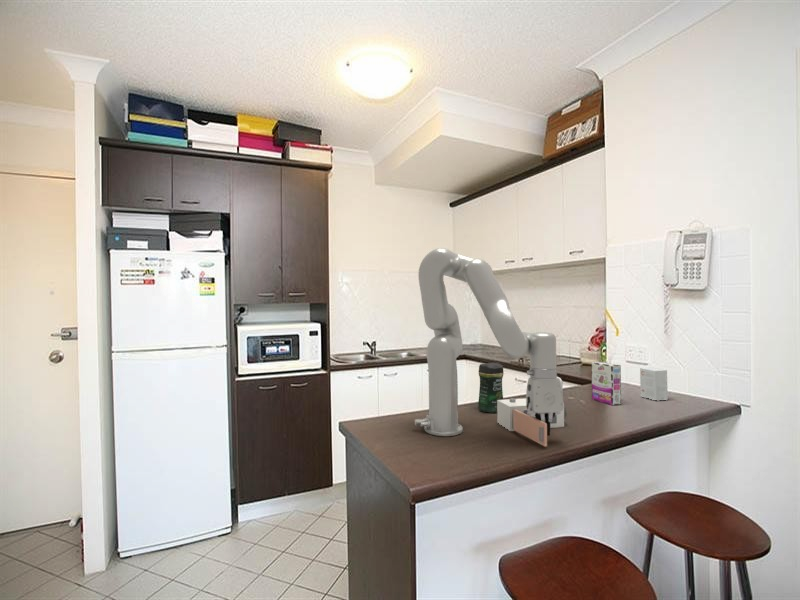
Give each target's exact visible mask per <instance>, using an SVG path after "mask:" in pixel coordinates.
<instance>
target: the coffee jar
mask: <svg viewBox="0 0 800 600" xmlns="http://www.w3.org/2000/svg"><path fill="white" fill-rule="evenodd" d="M504 374H505V373H504V366H503V364H502V363H498V362H488V363H481V364H479V365H478V376H479V393H478V404H477V405H478V410H479V411H480V412H484V413H497V400H504V393H503V392H504V391H503V377H504Z"/></svg>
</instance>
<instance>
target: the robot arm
mask: <svg viewBox="0 0 800 600" xmlns="http://www.w3.org/2000/svg"><path fill="white" fill-rule="evenodd" d="M417 275H418V284H419V291H420V296H421V304H422V312H423V317H424V322H425V325H426V326H427V328H428V329H430V330H432V331H433V333H434V336H433V337H432V338H431V339H430V340H429V342H428V344H427V347H426V361H427V366H428V367H427V369H428V414H426V417H424V418H417V419H416V418H415V419H414V425H415V426H420V427H424V428H423V429H424V431H425V432H426V433H427V434H429V435H432V436H436V437H437V436H439V437H452V436H458V435H460V434H462V432H463V431H464V429H463V426H462V425H461V424H459V417H458V416H459V405H458V404H459V401H458V398H459V396H458V395H459V394H458V393H459V392H458V389H459V388H458V366H457V358H458V357H459V356H460V355H461V353H462V351H463V347H464V345H463V339H462V332H461V327H460V326H461V325H460V321H459V316H458V313H457V310H456V308H455V307H454V306H453V305H451V304H450V303H449V301H448V295H447V290H446V285H445V281H444V276H446V277H449V278H452V279H455V280H457V281H461V282H465V283H467V285H468V287H469V288H470V290H471V291H472V294H473V295H474V297H475V299H476V301H477V303H478V305H479V307H480V309H481V310H482V312H483V316H484V318H485V319H486V321H487V322H488V323H487V324H488V325H489V328H490V329H491V332H492V334H493V336H494V337H495V339H496V342H497V343H498V344H499V346H500V348H501V350H502V351H503V353H504V354H505V355H506V356H508V357H509V358H511V359H520V358H522V357H524V356H526V355H529V370H527V371H526V374H527V376H529V377H528V380H527V386H526V393H525V394H526V395H525V398H526V407H527V409H528V411H527V415H529V416H532V417H535V418H536V419H538V420H540V421H542V422H545V423H547V437H550V436H551V428H550V422H552V419H553V417H554V416H555V415H558V414H560V413H561V411H562V410H563V403H564V395H562V388H561V383H560V379H559V378H560V377H559V378H557V377H558V373H557V369H558V368H557V367H558V366H557V339H556V338H557V337H556V335H555V334H554V333H552V332H543V331H542V332H541V331H540V332H533V333H532V332H526V331H522V330H521V328H520V326H519V325H518V324H517V323H518V322H517V321H516V319H515V317H514V316H513V313H512V311H511V307H510V303H509V299H508V298H507V295H506V293H505V291H504V290H503V289H502V286H501V284H500V283H499V282H498V280H497V278H496V276H495V275H494V273H493V268H492V266H491V265H490V264H489V263H488V262H486V260H484V259H482V258H470V257H467V256H465V255H461V254H458V253H455V252H453V251H452V250H449V249H448V248H444V247H437V248H435V249H432V250H431V251H430V252H428V253H427V254H426V255H425V256H424V257H423V258H422V260H421V263H420V264H419V267H418V274H417Z"/></svg>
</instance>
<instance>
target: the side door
mask: <svg viewBox="0 0 800 600" xmlns="http://www.w3.org/2000/svg"><path fill="white" fill-rule="evenodd" d="M512 429H513V430H515V431H514V432H516V433H519V434H521V435H522V436H525V437H526V438H528V439H530V440H532V441H533V442H536V443H538V444H539V445H541V446H543V447H546V448H547V447H548V436H547V423H545V422H542V421H540V420H538V419H536V418H533V417H531V416H529V415H527V414H525V413H522V412H520V411H518V410H516V409H512Z"/></svg>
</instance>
